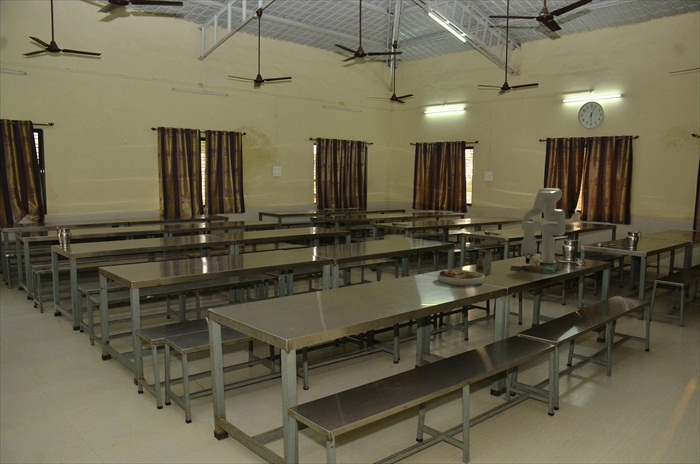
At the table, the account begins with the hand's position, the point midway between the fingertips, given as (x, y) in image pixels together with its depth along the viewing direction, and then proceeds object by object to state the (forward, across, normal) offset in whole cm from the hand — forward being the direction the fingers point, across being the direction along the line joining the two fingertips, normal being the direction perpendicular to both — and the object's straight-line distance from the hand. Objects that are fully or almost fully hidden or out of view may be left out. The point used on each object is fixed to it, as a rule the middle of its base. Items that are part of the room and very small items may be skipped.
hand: (527, 263), depth 389 cm
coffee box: (+5, +23, +33) cm, 40 cm away
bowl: (+6, +26, +71) cm, 76 cm away
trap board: (+4, -4, 0) cm, 6 cm away
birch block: (+1, -4, 0) cm, 4 cm away
